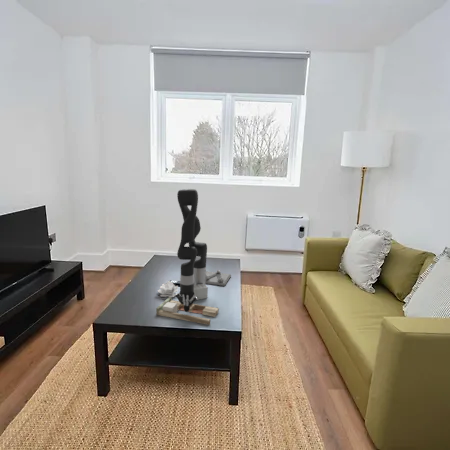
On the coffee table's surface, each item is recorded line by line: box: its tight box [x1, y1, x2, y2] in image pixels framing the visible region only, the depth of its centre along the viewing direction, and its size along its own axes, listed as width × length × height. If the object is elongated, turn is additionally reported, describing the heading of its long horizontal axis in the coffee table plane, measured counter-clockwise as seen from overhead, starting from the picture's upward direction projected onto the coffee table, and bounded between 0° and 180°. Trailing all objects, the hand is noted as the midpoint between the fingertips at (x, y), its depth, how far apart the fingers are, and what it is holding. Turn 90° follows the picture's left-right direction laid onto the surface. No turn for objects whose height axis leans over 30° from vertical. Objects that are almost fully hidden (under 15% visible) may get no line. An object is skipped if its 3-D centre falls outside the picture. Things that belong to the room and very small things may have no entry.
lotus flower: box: [157, 280, 179, 298], centre depth 203 cm, size 14×15×9 cm
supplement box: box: [190, 284, 209, 302], centre depth 200 cm, size 7×7×13 cm
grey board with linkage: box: [206, 269, 232, 287], centre depth 233 cm, size 30×22×7 cm
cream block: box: [163, 302, 178, 313], centre depth 179 cm, size 6×6×5 cm
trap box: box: [155, 297, 220, 326], centre depth 179 cm, size 16×32×4 cm, turn 73°
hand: (186, 311), depth 177 cm, fingers closed
